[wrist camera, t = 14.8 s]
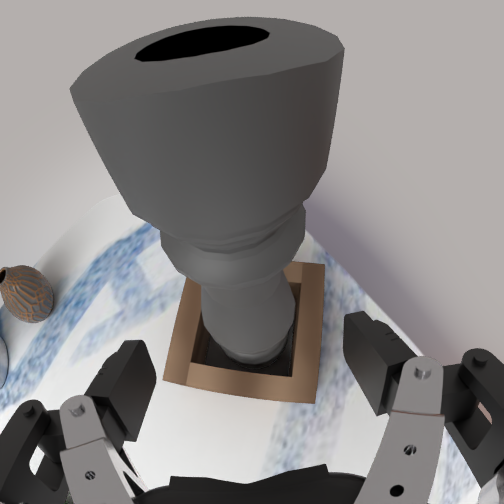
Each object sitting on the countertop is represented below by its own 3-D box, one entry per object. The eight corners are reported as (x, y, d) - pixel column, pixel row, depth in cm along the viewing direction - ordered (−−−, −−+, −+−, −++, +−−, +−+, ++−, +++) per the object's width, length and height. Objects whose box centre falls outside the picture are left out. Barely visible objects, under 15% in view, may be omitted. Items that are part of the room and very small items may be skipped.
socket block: (180, 384, 24) (162, 380, 19) (204, 274, 29) (193, 251, 25) (305, 402, 22) (315, 403, 18) (316, 286, 28) (324, 264, 24)
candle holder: (293, 318, 26) (359, 27, 5) (274, 377, 24) (352, 136, 2) (235, 301, 28) (164, 23, 6) (213, 356, 25) (11, 126, 3)
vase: (43, 339, 26) (-4, 315, 18) (23, 310, 28) (-18, 284, 20) (68, 298, 29) (25, 266, 21) (46, 273, 30) (8, 241, 23)
